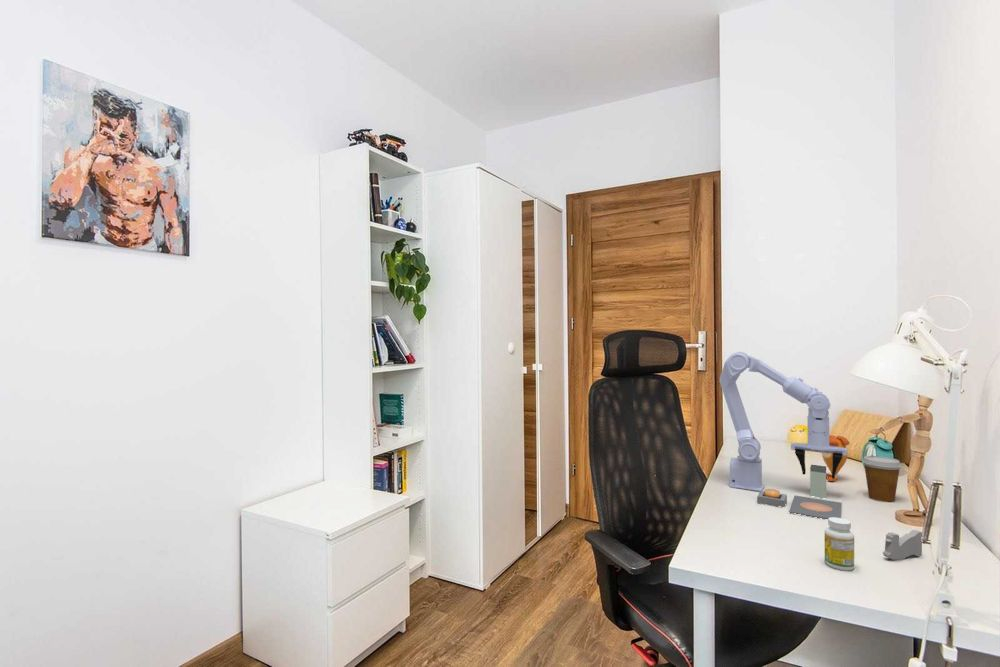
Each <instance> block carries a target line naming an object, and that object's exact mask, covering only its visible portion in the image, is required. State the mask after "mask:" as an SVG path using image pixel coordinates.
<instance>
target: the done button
mask: <svg viewBox="0 0 1000 667" xmlns="http://www.w3.org/2000/svg"><path fill="white" fill-rule="evenodd" d="M764 491H765V497H771V498H777V499H780V494H781V492H780V491H779V490H777V489H773V488H766V489H764Z"/></svg>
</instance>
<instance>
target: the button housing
mask: <svg viewBox="0 0 1000 667" xmlns="http://www.w3.org/2000/svg"><path fill="white" fill-rule="evenodd" d="M756 501H757V504H759V503H761V504H760V505H765V504H767V505H766V506H771V505H774V506H773V507H777V506H781V507H780V508H783V507H786V505H787V501H788V495H787V494H786V493H780V499H777V498H771V497H765V490H762V491H759V492H758V495H757V500H756ZM785 504H786V505H785Z"/></svg>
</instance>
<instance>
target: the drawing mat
mask: <svg viewBox="0 0 1000 667" xmlns="http://www.w3.org/2000/svg"><path fill="white" fill-rule="evenodd" d="M789 512H790V513H789ZM788 513H789V514H791V513H796V514H801V515H800V516H802V515H806V516H805V517H808V516H812V517H811V518H814V517H817V518H816V519H820V518H822V519H821V520H825V519H828V518H830V517H836V518H842V501H841V502H840V501H834V500H827V499H823V498H816V497H810V496H809V497H807V496H801V495H795V494H794V497H793V499H792V501H791V504H790V507H789V510H788ZM796 514H795V515H796Z"/></svg>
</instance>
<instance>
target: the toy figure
mask: <svg viewBox="0 0 1000 667" xmlns="http://www.w3.org/2000/svg"><path fill="white" fill-rule="evenodd" d="M849 445H850V441H849V440H848V439H847V438H846V437H844V436H841V435H836V436H835V435H832V434H831V435H830V434H829V446H834V447H841V448H847V446H849ZM832 456H833V454H831V453H821V457H822V461H824V463H825V465H826V468H828V470H829V471H830V472H829V473H826V477H828V478H826V481H827V480H828V481H827V482H829V481H836V480H837V481H838V478H837V475H838V473H839V472H840V470H842V468H843V467H844V466H845V464H846V463H847V458H848V455H847V456H845V455H842V459H841V461H840V463H839V465H838V467H837V470H836V473H835V478H832V469H833V458H832ZM837 481H836V482H837Z"/></svg>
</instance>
